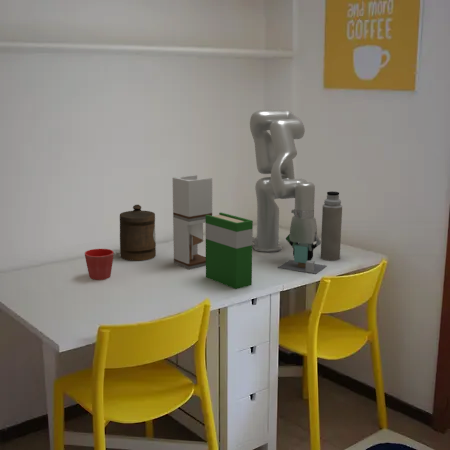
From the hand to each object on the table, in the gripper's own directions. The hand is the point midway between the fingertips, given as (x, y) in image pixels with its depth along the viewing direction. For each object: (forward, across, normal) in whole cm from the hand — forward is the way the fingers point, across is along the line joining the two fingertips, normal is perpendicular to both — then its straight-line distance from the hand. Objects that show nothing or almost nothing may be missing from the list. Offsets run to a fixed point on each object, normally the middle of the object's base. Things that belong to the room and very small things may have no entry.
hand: (302, 258), depth 249 cm
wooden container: (+4, -66, -20) cm, 69 cm away
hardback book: (+4, -17, -30) cm, 35 cm away
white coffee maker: (+4, -40, -18) cm, 44 cm away
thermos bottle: (+4, +5, +18) cm, 19 cm away
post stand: (+4, 0, 0) cm, 4 cm away
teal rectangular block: (+1, 0, 0) cm, 1 cm away
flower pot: (+4, -61, -50) cm, 79 cm away
